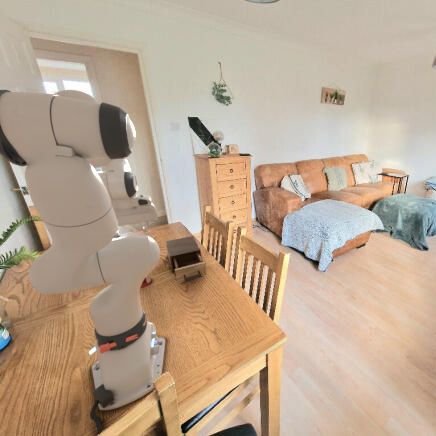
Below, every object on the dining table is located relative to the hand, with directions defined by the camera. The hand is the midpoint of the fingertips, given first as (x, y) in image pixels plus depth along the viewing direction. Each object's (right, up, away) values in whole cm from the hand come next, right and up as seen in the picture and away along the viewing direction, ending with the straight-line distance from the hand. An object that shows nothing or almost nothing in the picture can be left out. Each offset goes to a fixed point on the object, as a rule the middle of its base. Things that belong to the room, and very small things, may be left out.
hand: (132, 233), depth 95 cm
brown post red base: (-1, -22, +9) cm, 24 cm away
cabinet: (+9, -15, +27) cm, 32 cm away
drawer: (+16, -19, +16) cm, 30 cm away
